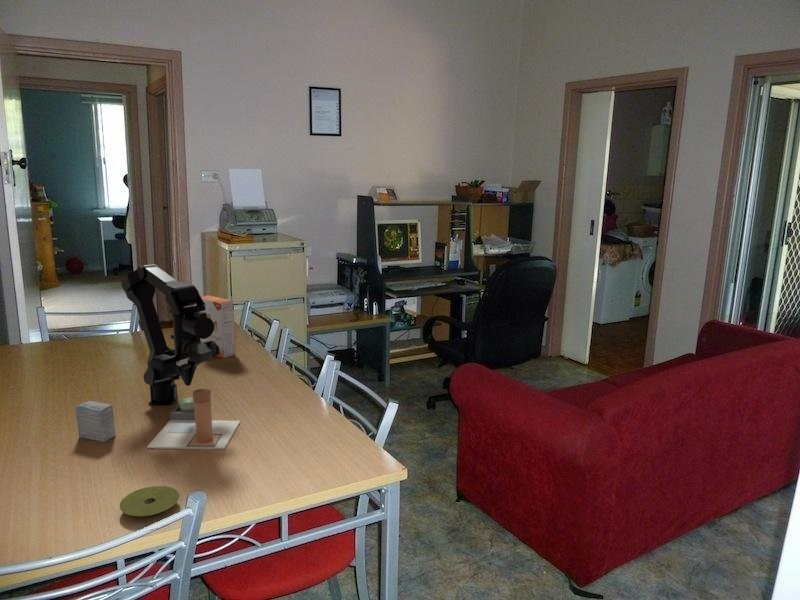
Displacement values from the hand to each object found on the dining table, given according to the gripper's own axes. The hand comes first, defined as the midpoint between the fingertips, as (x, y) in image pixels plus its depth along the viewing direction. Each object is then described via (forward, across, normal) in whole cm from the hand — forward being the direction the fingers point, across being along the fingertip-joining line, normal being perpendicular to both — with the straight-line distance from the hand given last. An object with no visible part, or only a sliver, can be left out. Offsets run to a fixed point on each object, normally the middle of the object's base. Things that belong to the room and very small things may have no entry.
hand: (188, 385), depth 165 cm
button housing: (+9, 0, 0) cm, 9 cm away
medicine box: (+9, -22, +8) cm, 25 cm away
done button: (+8, 0, 0) cm, 8 cm away
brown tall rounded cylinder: (+8, -8, -16) cm, 20 cm away
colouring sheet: (+9, -7, -11) cm, 16 cm away
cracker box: (+9, +41, +37) cm, 56 cm away
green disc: (+9, -34, -32) cm, 47 cm away
